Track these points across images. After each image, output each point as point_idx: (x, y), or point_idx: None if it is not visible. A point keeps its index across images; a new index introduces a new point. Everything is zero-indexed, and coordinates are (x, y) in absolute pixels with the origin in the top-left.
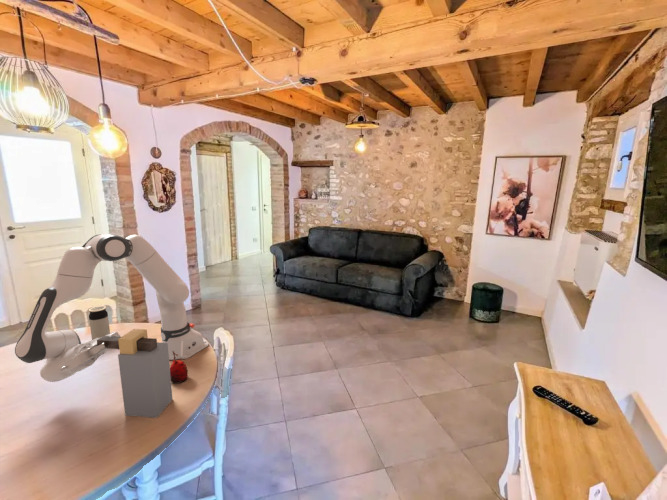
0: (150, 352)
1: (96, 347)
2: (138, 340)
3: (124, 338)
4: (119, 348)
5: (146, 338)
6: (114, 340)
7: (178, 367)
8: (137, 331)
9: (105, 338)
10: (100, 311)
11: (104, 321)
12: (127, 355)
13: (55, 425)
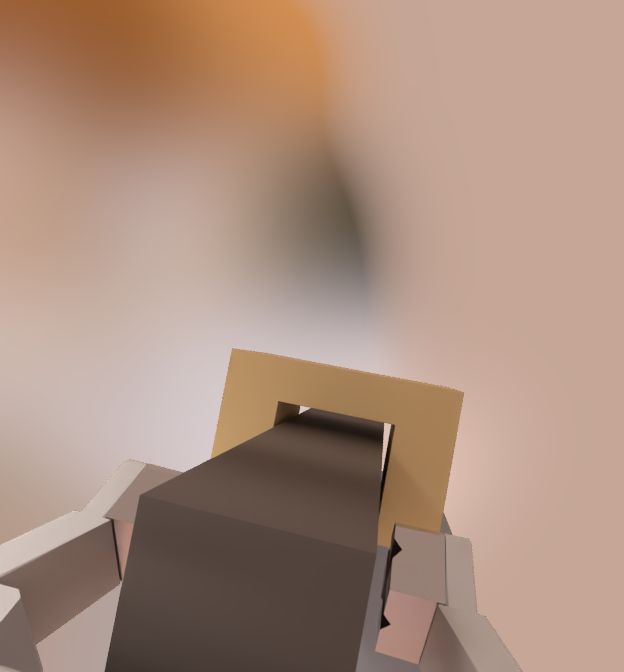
0: (381, 479)
1: (500, 650)
2: (349, 420)
3: (437, 386)
4: (443, 499)
5: (316, 409)
6: (360, 461)
7: None
8: (295, 359)
9: (295, 490)
10: None
11: None
12: (449, 532)
13: None
